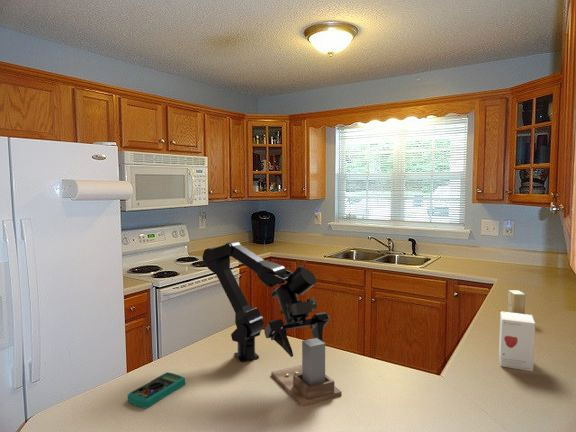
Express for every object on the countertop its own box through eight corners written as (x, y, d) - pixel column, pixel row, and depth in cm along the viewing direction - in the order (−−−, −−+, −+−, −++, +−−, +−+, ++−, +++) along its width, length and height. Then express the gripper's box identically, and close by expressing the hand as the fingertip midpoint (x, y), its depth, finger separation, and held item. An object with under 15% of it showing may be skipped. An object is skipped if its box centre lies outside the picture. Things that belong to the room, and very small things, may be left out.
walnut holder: (271, 375, 119) (271, 361, 119) (306, 366, 125) (306, 354, 124) (301, 406, 102) (301, 390, 102) (341, 395, 108) (341, 380, 107)
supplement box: (499, 366, 124) (501, 318, 123) (498, 355, 132) (499, 310, 131) (534, 372, 120) (535, 323, 119) (530, 360, 128) (532, 314, 127)
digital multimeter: (125, 404, 105) (124, 393, 104) (167, 379, 118) (167, 370, 117) (145, 411, 101) (144, 400, 101) (186, 385, 114) (186, 375, 114)
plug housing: (302, 387, 110) (302, 340, 109) (316, 383, 112) (316, 337, 111) (310, 394, 106) (310, 346, 105) (325, 390, 108) (325, 343, 107)
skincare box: (506, 318, 168) (507, 289, 168) (518, 318, 168) (519, 290, 167) (513, 323, 162) (514, 293, 161) (524, 324, 162) (526, 294, 161)
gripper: (268, 292, 110) (285, 346, 101) (326, 285, 118) (347, 334, 109) (257, 312, 118) (272, 364, 109) (313, 304, 126) (331, 351, 117)
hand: (307, 353), depth 111 cm, fingers open, 9 cm apart
